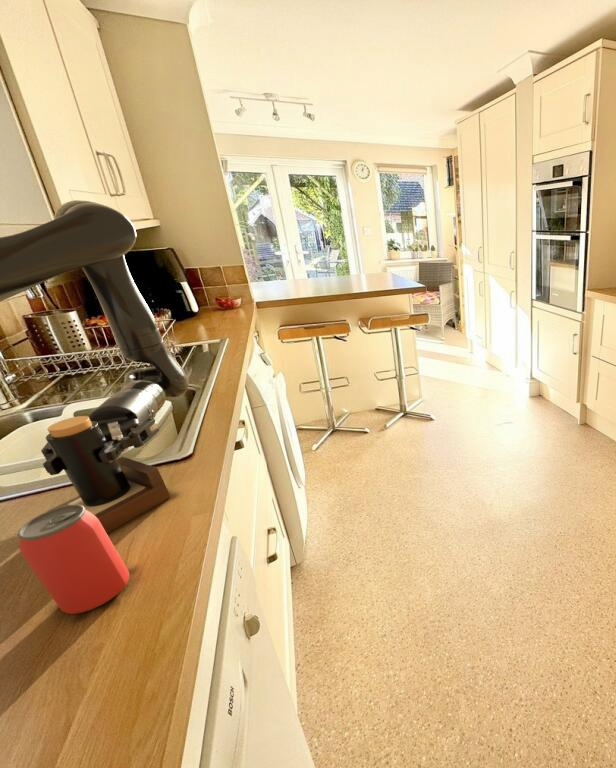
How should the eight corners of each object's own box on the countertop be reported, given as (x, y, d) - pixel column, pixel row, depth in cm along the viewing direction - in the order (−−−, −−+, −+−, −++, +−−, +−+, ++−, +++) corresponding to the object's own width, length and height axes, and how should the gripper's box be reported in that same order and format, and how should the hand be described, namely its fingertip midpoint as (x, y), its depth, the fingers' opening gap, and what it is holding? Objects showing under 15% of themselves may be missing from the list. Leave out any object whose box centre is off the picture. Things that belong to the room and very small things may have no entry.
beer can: (135, 590, 53) (93, 517, 48) (64, 627, 48) (9, 551, 43) (127, 563, 57) (87, 494, 52) (60, 596, 52) (10, 523, 48)
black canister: (76, 501, 65) (33, 429, 59) (118, 480, 69) (81, 411, 64) (96, 510, 63) (53, 435, 57) (138, 488, 67) (102, 417, 62)
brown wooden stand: (55, 526, 64) (36, 495, 62) (136, 484, 74) (122, 456, 71) (90, 543, 61) (71, 511, 58) (171, 497, 70) (157, 467, 68)
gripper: (65, 405, 71) (-2, 455, 57) (165, 389, 76) (127, 431, 62) (85, 442, 74) (27, 498, 60) (180, 424, 79) (147, 472, 65)
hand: (78, 464), depth 61 cm, fingers closed on black canister, 5 cm apart
